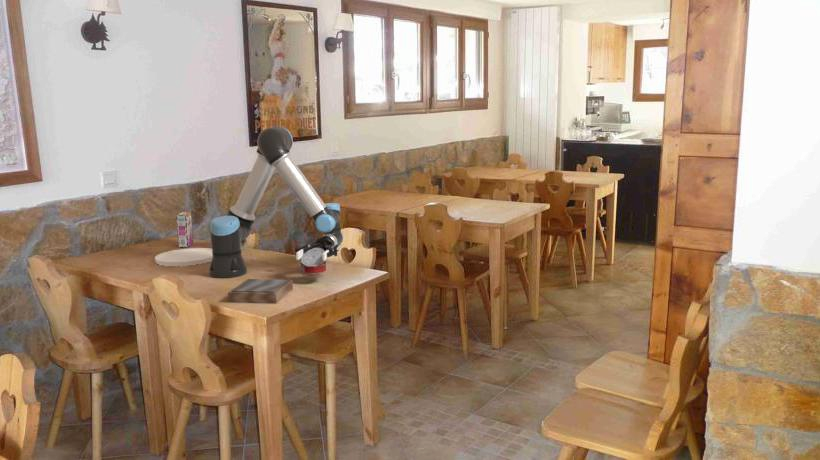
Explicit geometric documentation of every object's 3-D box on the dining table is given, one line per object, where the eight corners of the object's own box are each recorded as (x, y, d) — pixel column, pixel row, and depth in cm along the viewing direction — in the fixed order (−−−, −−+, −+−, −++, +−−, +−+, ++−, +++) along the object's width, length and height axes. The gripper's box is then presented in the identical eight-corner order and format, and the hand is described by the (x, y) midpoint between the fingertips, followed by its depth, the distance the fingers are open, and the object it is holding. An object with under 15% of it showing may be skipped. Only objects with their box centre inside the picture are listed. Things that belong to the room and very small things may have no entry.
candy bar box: (188, 247, 338) (186, 215, 335) (178, 248, 338) (175, 215, 335) (193, 243, 349) (191, 211, 346) (183, 243, 349) (181, 211, 346)
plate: (183, 270, 295) (183, 264, 295) (141, 263, 310) (141, 257, 310) (232, 256, 319) (231, 251, 318) (190, 250, 333) (190, 245, 333)
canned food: (327, 281, 271) (335, 261, 267) (306, 283, 264) (314, 262, 260) (313, 263, 278) (321, 243, 273) (292, 265, 271) (300, 244, 267)
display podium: (228, 302, 246) (227, 291, 245) (247, 288, 263) (247, 278, 263) (276, 303, 243) (275, 292, 242) (292, 289, 260) (292, 279, 260)
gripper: (352, 253, 285) (338, 267, 263) (300, 252, 288) (282, 265, 266) (352, 236, 283) (338, 248, 261) (299, 235, 287) (281, 246, 265)
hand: (310, 256), depth 264 cm, fingers closed on canned food, 10 cm apart
